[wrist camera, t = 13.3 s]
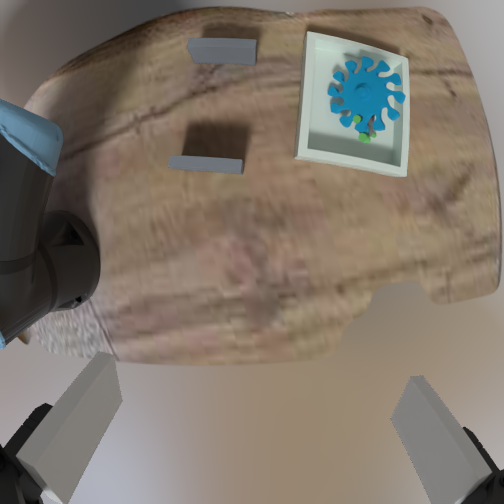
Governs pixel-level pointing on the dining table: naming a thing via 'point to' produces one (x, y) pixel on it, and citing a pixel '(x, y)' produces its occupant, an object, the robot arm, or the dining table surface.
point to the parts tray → (328, 124)
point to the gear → (366, 97)
